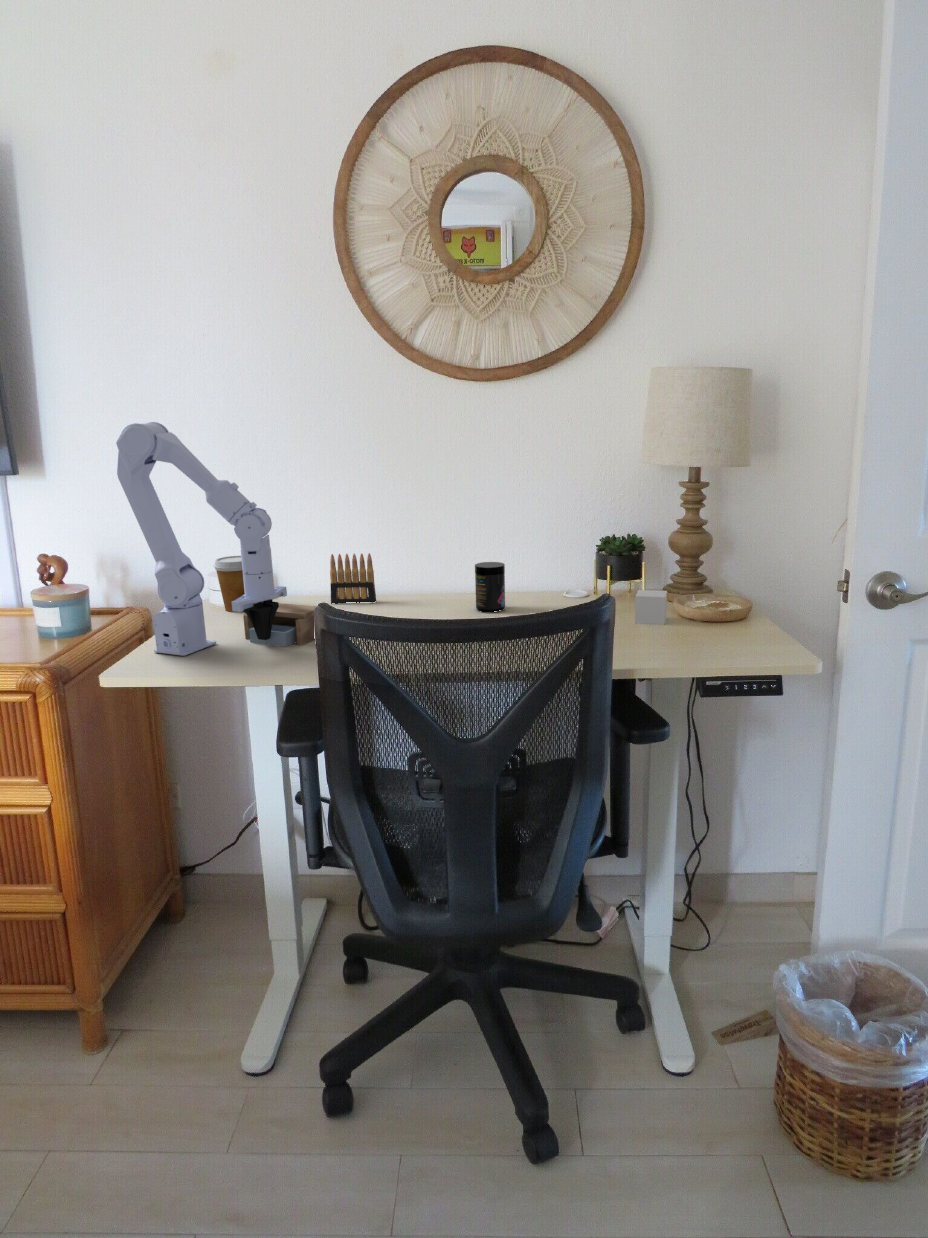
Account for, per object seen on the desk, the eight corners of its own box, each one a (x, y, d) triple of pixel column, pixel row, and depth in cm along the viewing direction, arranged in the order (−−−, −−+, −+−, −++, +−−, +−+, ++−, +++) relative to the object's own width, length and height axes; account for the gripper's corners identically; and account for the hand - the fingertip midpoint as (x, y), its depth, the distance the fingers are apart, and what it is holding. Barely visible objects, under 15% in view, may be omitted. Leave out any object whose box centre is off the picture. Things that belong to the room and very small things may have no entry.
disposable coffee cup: (265, 604, 207) (260, 554, 204) (251, 613, 198) (246, 562, 195) (226, 604, 208) (222, 555, 205) (211, 613, 199) (206, 562, 196)
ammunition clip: (330, 604, 205) (327, 554, 202) (332, 602, 207) (328, 553, 204) (375, 603, 205) (372, 553, 202) (376, 601, 206) (373, 552, 203)
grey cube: (664, 625, 178) (665, 597, 176) (634, 624, 180) (635, 596, 178) (666, 618, 183) (667, 590, 182) (637, 617, 185) (638, 589, 184)
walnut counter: (301, 645, 171) (299, 616, 169) (245, 638, 177) (242, 610, 175) (324, 635, 178) (322, 606, 176) (269, 629, 184) (267, 601, 182)
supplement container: (497, 614, 190) (496, 568, 188) (470, 611, 194) (469, 566, 191) (510, 607, 196) (509, 562, 194) (484, 605, 199) (483, 561, 197)
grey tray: (286, 647, 170) (285, 633, 170) (250, 643, 174) (248, 629, 174) (301, 641, 175) (300, 626, 174) (265, 637, 179) (264, 623, 178)
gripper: (250, 580, 160) (256, 650, 163) (296, 566, 172) (302, 631, 176) (220, 578, 163) (227, 647, 166) (268, 564, 175) (274, 628, 179)
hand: (263, 638), depth 171 cm, fingers closed
